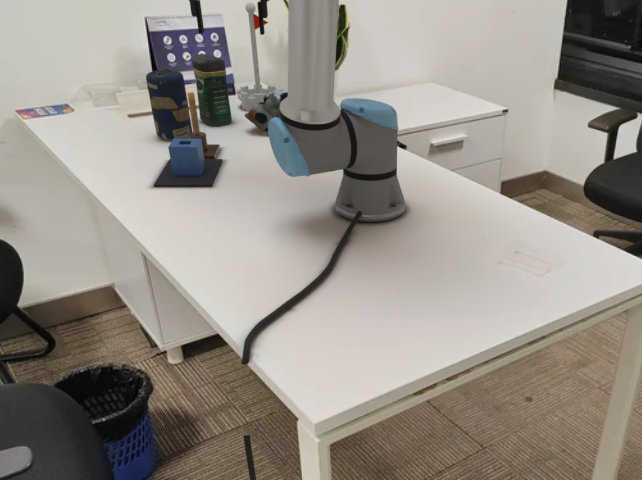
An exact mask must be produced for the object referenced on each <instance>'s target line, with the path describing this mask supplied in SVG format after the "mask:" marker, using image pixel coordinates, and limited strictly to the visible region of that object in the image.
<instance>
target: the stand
mask: <svg viewBox="0 0 642 480" xmlns="http://www.w3.org/2000/svg"><path fill="white" fill-rule="evenodd" d="M186 95H187V100H188V107H189V113H190V120H191V126H192V133H189V134H188V137H187V138H193V139H201V140H202V146H203V153H204V159H217V156H218V154H219V152H220V149H221V145H220V144H219V143H218V144H216V143H215V144H213V143H211V144H208V139H207V133H205V132H203V131H201V129H200V124H199V117H198V109H197V104H196V96H195V92H194V91H188V92H186Z"/></svg>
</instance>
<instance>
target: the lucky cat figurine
mask: <svg viewBox="0 0 642 480" xmlns="http://www.w3.org/2000/svg"><path fill="white" fill-rule="evenodd" d="M286 97H288V89H285V88H284V89H279V90H276V91H274V92H272V93H271V94H270V95H269V96H268V95H265V96H264V102H260V103H258V104H256V105H254V106H253V107H252V108H251V109H250V111H247V112H246V113H244V117H245V119H247V120H248V122H251V123H252V124H253V125H254V126H255V127H256V128H258V129H260V130H261V131H263V132H265V133H268V124H269V121H270V120H271V119H273V118H274V117H278V118H279V116H280V103H281V102H282V101H283V100H284V99H285V98H286Z"/></svg>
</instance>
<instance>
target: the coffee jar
mask: <svg viewBox="0 0 642 480" xmlns="http://www.w3.org/2000/svg"><path fill="white" fill-rule="evenodd" d="M192 70H193V73H194V80H195V86H196V93H197V102H198V103H197V104H198V112H199V119H200V120H201V122H202V123H205V124H207V125H209V126H225V125H227V124H230V123H231V122H232V121H233V118H232V110H231V104H230V97H229V90H228V83H227V69H226V62H225V60H224V59H222V58H220V57H218V56H217V57H216V56H214V55H211V54H209V53H202V54H201V53H200V54H195V56H193V58H192Z"/></svg>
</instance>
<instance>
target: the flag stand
mask: <svg viewBox="0 0 642 480" xmlns="http://www.w3.org/2000/svg"><path fill="white" fill-rule="evenodd" d="M244 7H245V9H244V10H245V11H246V13H248V14H247V15H248V24H249V34H250V44H251V53H252V54H251V55H252V64H253V65H252V66H253V73H254V84H253V88H249V85H243V86H240V88H236V94H237V99H238V100H239V101H240V102H241V108H242V109H243V110H244V111H247V112H249V111H250V109H251V108H252V107H253V106H254V105H256V104H258V103H260V102H264V96H265V95H268V96H269V95H270V94H271V93H272V92H274V91H276V90H280V88H279V87H277V88H276V86H275V85H267V88H266V87H265V88H264V87H263V85H262V84H261V78H260V76H261V75H260V66H259V56H258V46H257V45H258V44H257V35H256V30H258V29H260V26H259V16H258V15H257V14H255V12H256V5H255V4H254V3H253V2H247V3H246V4H245V6H244ZM263 20H264V26H265V25H267V24H269V22H268V21H267V20H266V19H263Z"/></svg>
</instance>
